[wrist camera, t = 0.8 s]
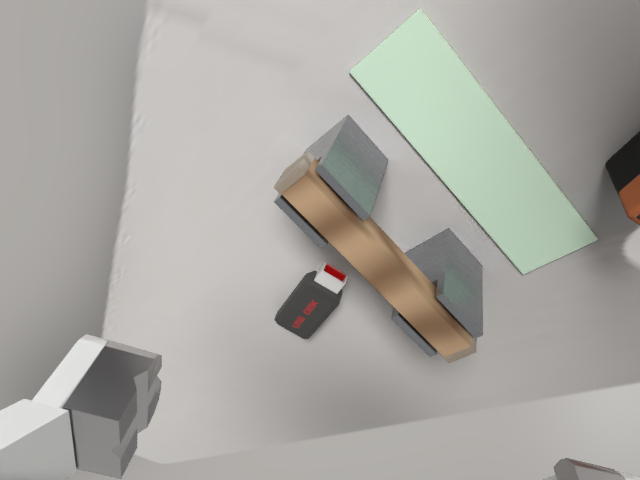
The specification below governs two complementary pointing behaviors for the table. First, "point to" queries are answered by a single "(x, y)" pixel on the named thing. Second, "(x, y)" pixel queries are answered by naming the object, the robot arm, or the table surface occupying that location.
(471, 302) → the stand
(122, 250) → the table surface
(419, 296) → the rail
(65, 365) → the robot arm
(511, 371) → the table surface
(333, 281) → the usb drive
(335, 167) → the stand
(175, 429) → the table surface
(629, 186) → the battery
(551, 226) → the mat
